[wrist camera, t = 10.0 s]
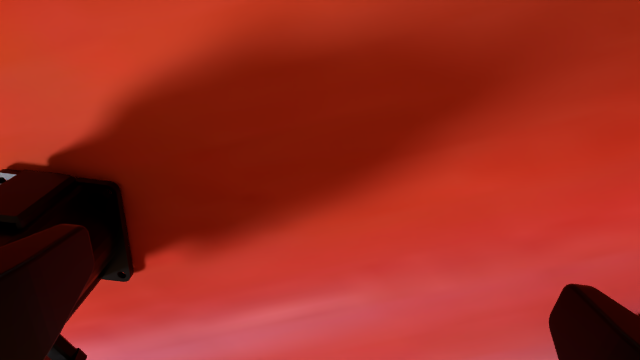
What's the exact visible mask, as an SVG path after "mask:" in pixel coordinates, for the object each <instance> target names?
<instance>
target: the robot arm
mask: <svg viewBox="0 0 640 360" xmlns="http://www.w3.org/2000/svg"><path fill="white" fill-rule="evenodd" d="M4 178H5V179H6V180H7V181H6V180H5V179H4ZM107 189H108V190H110V191H111V192H112V194H111V193H109V192H108V191H107ZM122 272H124V273H125V274H124V273H122ZM132 275H133V266H132V259H131V253H130V247H129V240H128V234H127V228H126V221H125V215H124V209H123V202H122V196H121V190H120V188H119V186H118V185H117V184H115V183H114V182H111V181H103V180H94V179H86V178H77V177H74V176H71V175H66V174H58V173H49V172H41V171H32V170H23V171H17V170H8V169H2V170H1V171H0V360H86V358H87V355H86V354H85V353H84V352H83V351H82V350H81V349H79V348H75V347H74V346H73V345H72V344H71V343H70V342H68V341H67V340H66V339H65V338H64V337H63V336H62V335H61V334H60V333H61V331H62V329H63V327H64V325H65V323H66V322H67V321H68V320H69V319H70V317H71V316H72V315H73V314H74V312H75V311H76V310H77V309H78V307H79V306H80V305H81V304H82V302H83V301H84V300H85V299H86V297H87V296H88V295H89V294H90V292H91V291H92V290H93V289H94V287H95V286H96V285H97V284H98V282H99V281H100V280H101V279H105V280H113V281H122V282H126V281H128V280H129V279H130V278H131V276H132ZM549 328H550V332H551V335H552V339H553V342H554V345H555V349H556V352H557V355H558V359H559V360H640V317H639V316H637V315H636V314H634V313H633V312H631V311H630V310H628V309H627V308H625V307H623V306H622V305H620V304H619V303H617V302H616V301H614V300H613V299H611V298H610V297H608V296H607V295H605V294H604V293H602V292H600V291H599V290H597V289H596V288H594V287H592V286H587V285H579V284H568V285H566V286H565V287H564V288H563V290H562V292H561V294H560V296H559V298H558V300H557V302H556V304H555V306H554V308H553V310H552V312H551V314H550V317H549Z"/></svg>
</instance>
